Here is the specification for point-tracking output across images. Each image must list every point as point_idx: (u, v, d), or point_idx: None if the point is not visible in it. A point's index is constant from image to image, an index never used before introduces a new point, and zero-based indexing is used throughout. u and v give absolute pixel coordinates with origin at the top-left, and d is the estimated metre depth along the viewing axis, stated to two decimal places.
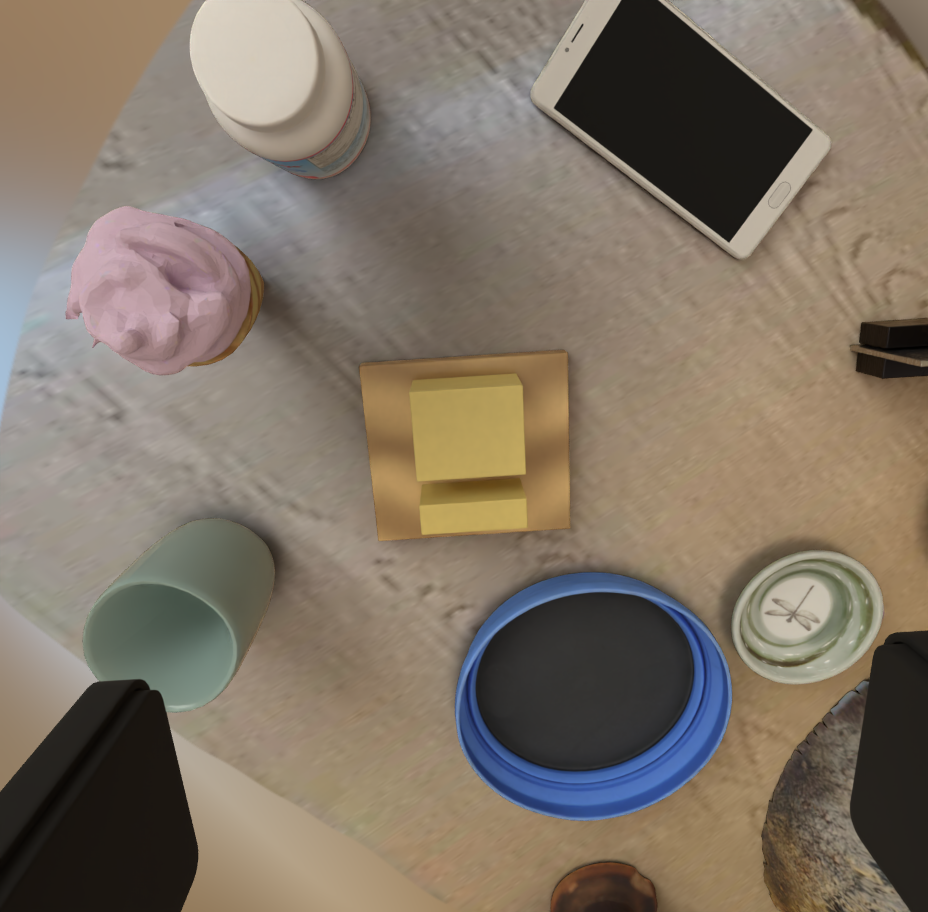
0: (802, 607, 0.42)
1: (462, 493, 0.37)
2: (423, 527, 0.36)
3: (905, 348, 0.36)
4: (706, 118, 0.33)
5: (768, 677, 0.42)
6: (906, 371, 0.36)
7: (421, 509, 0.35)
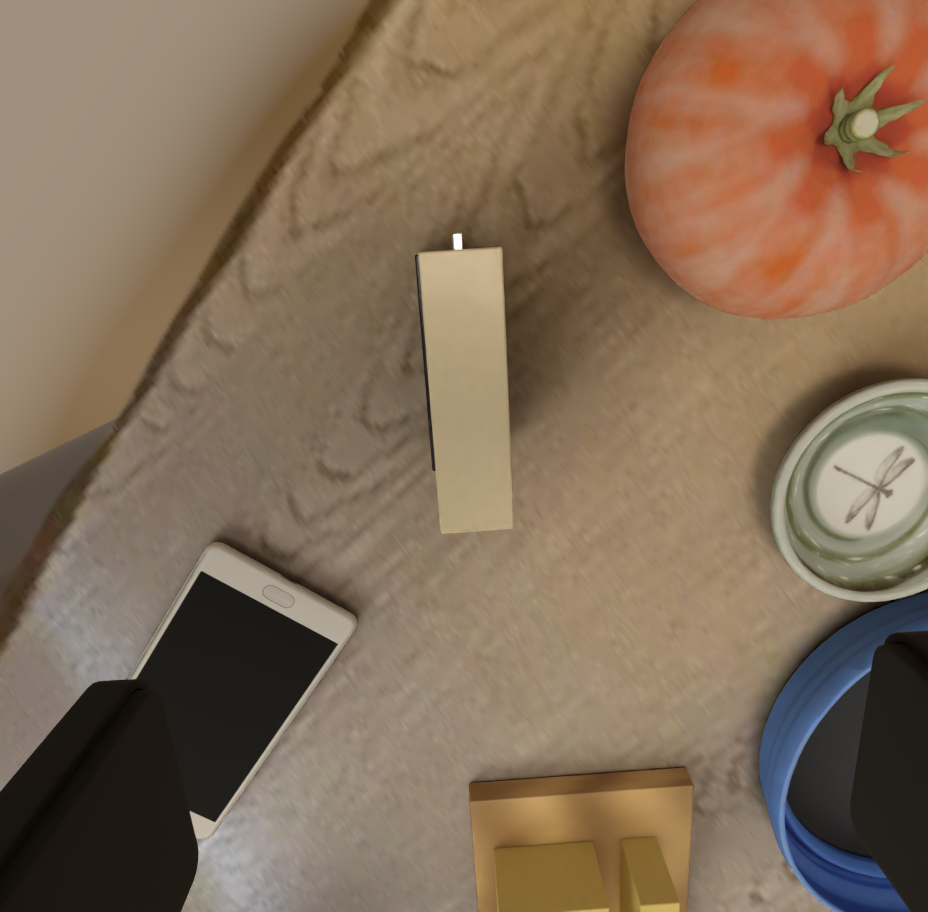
0: (870, 477, 0.27)
1: None
2: None
3: None
4: (205, 683, 0.29)
5: None
6: None
7: None
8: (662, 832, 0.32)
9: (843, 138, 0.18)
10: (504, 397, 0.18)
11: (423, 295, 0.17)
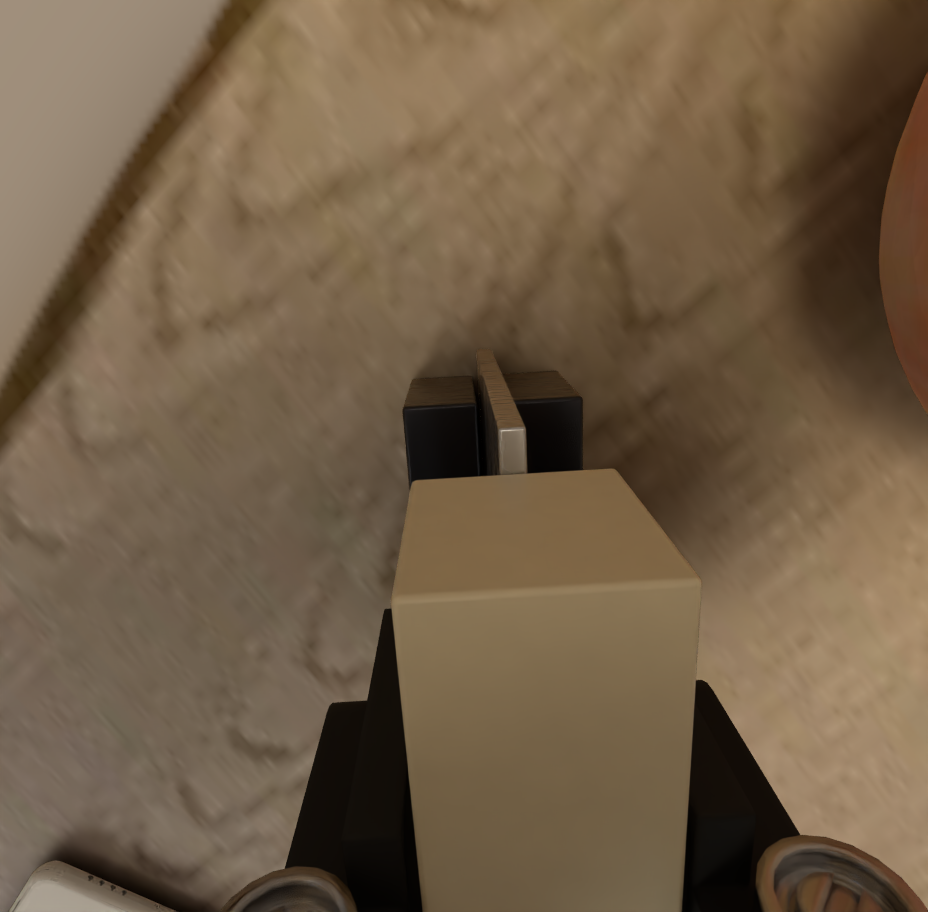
0: None
1: None
2: None
3: None
4: None
5: None
6: None
7: None
8: None
9: None
10: None
11: (409, 725, 0.05)
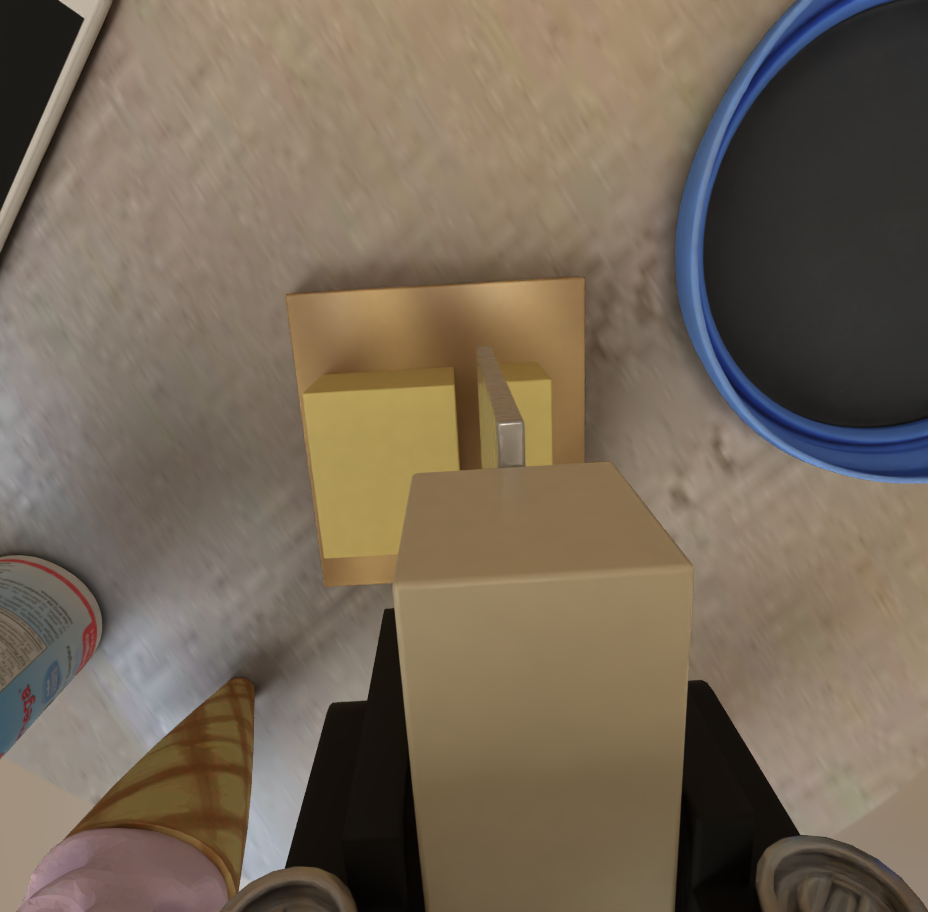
0: None
1: None
2: None
3: None
4: None
5: None
6: None
7: None
8: (546, 356, 0.24)
9: None
10: None
11: (410, 708, 0.05)
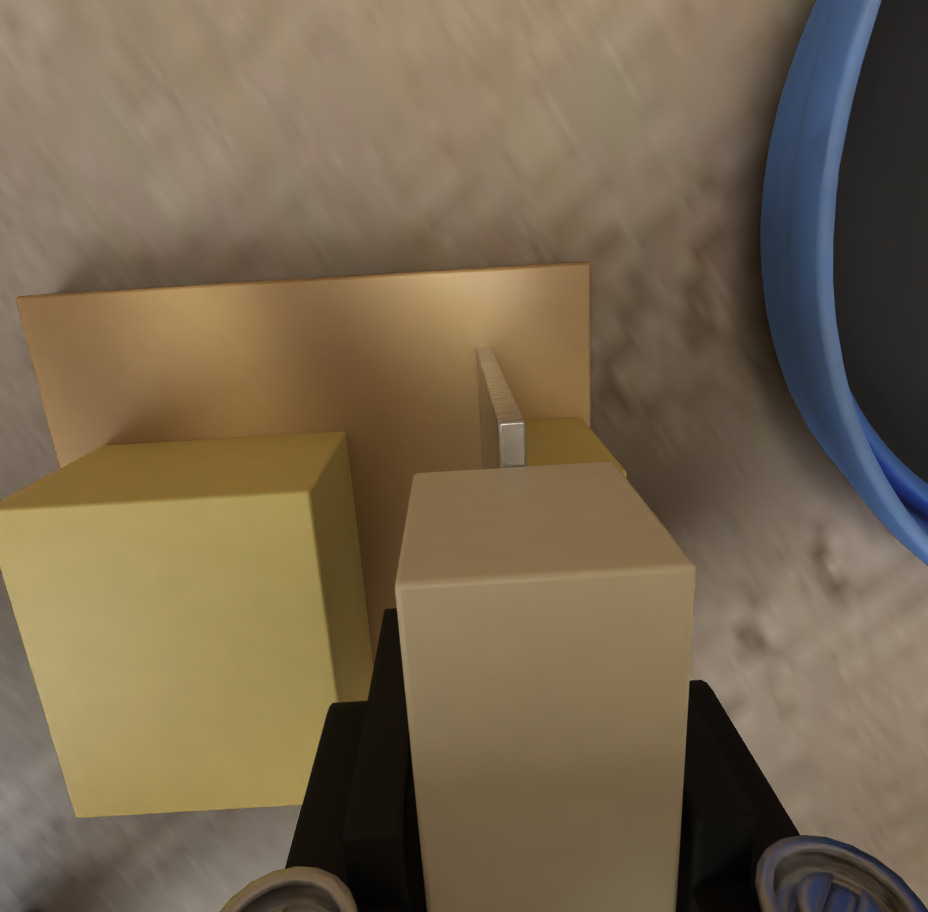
0: None
1: None
2: None
3: None
4: None
5: None
6: None
7: None
8: None
9: None
10: None
11: (413, 708, 0.05)
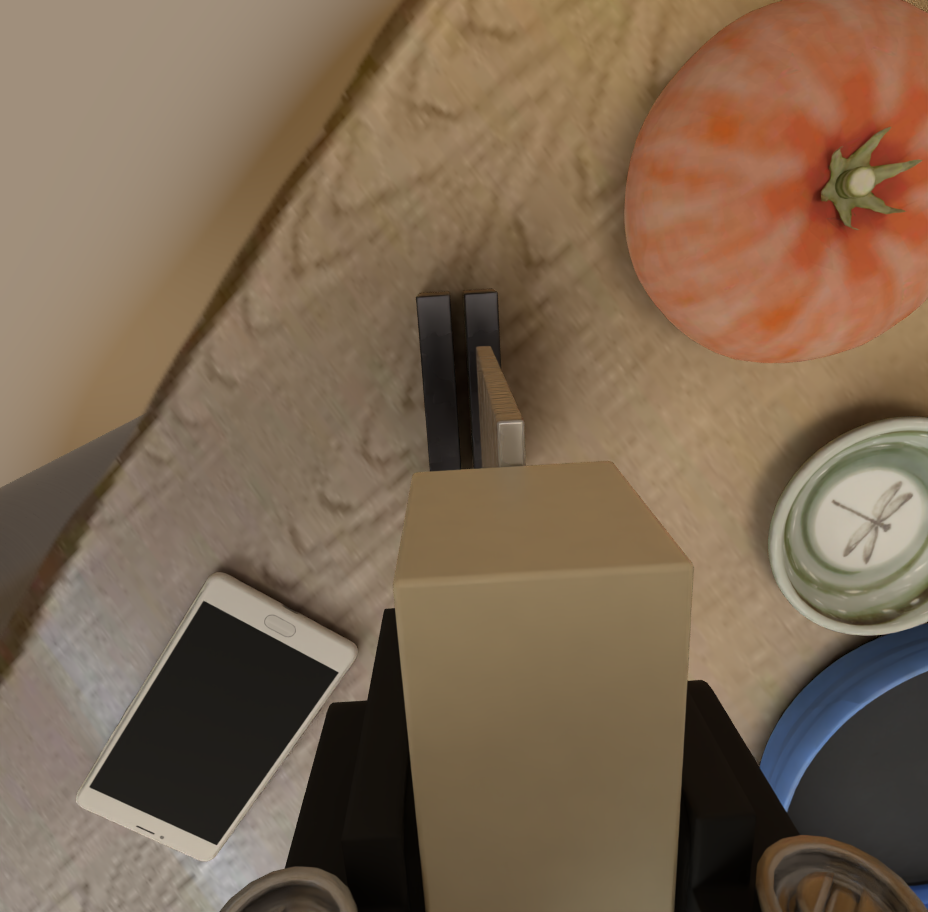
0: (868, 512, 0.27)
1: None
2: None
3: None
4: (207, 710, 0.29)
5: None
6: None
7: None
8: None
9: (840, 194, 0.18)
10: None
11: (411, 706, 0.05)
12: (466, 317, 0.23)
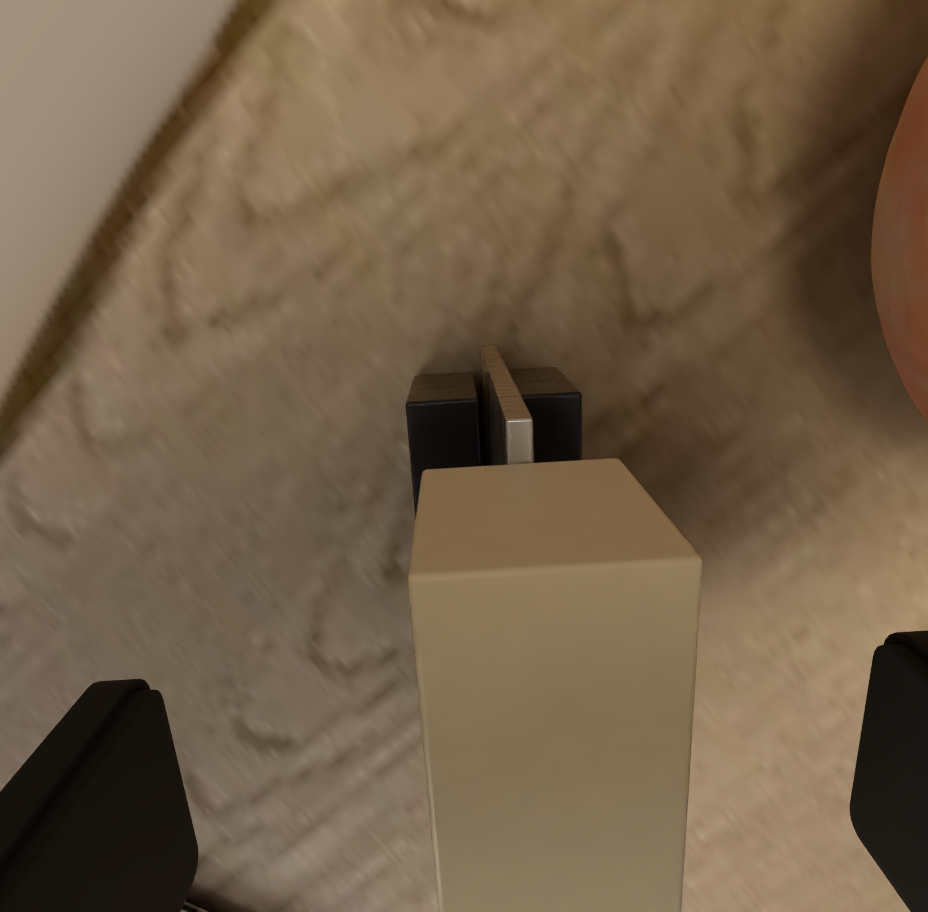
0: None
1: None
2: None
3: None
4: None
5: None
6: None
7: None
8: None
9: None
10: None
11: (425, 698, 0.05)
12: None
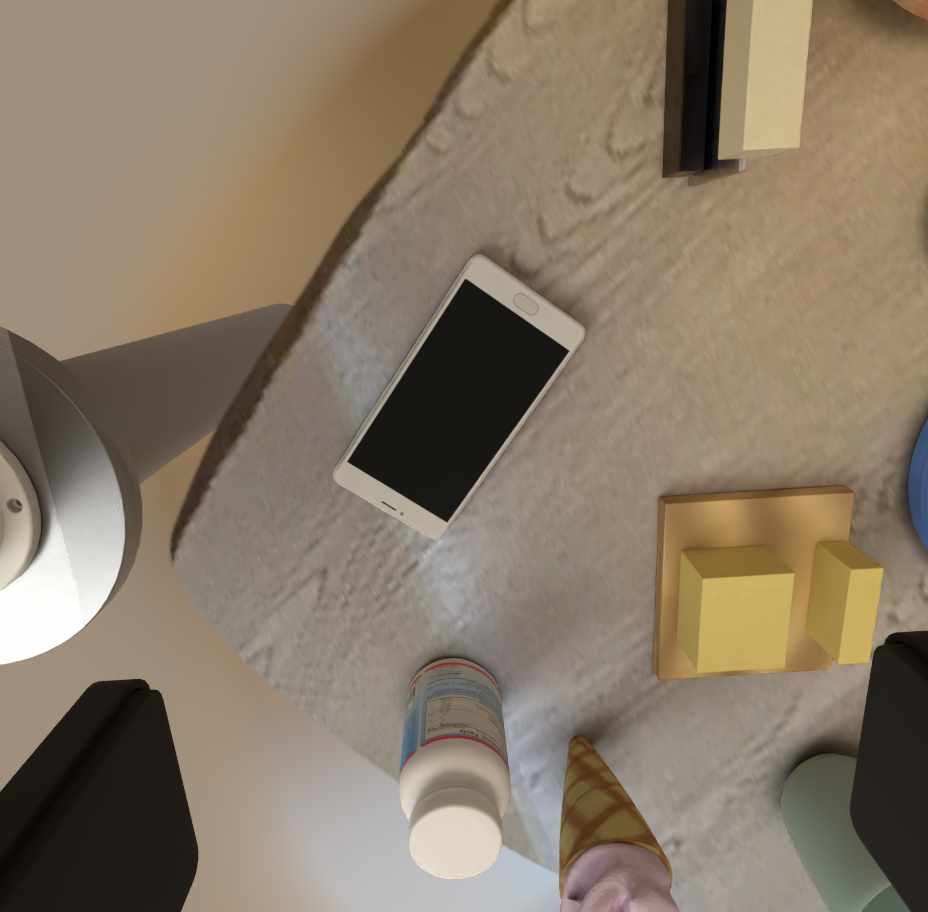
0: None
1: (828, 613, 0.37)
2: (862, 660, 0.36)
3: (707, 141, 0.30)
4: (455, 386, 0.35)
5: None
6: None
7: (842, 662, 0.36)
8: (824, 538, 0.38)
9: None
10: (808, 26, 0.23)
11: None
12: None
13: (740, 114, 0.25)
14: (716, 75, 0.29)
